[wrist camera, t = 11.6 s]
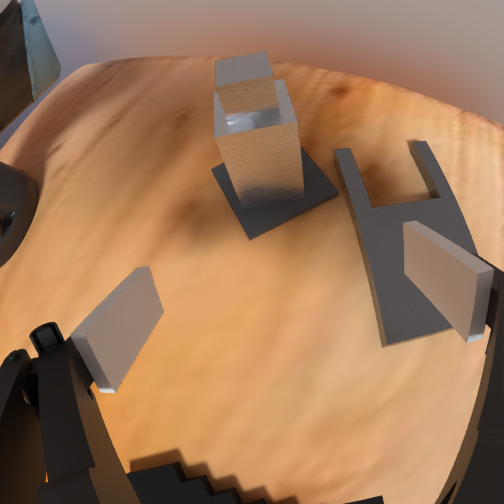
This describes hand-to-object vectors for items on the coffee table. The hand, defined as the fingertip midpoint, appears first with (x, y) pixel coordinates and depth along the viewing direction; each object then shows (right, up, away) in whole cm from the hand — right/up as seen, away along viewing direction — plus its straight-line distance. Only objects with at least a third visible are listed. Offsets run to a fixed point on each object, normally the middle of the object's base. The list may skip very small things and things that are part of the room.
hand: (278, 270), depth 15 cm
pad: (0, +7, +11) cm, 13 cm away
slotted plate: (+11, +2, +7) cm, 13 cm away
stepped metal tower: (0, +7, +10) cm, 13 cm away
